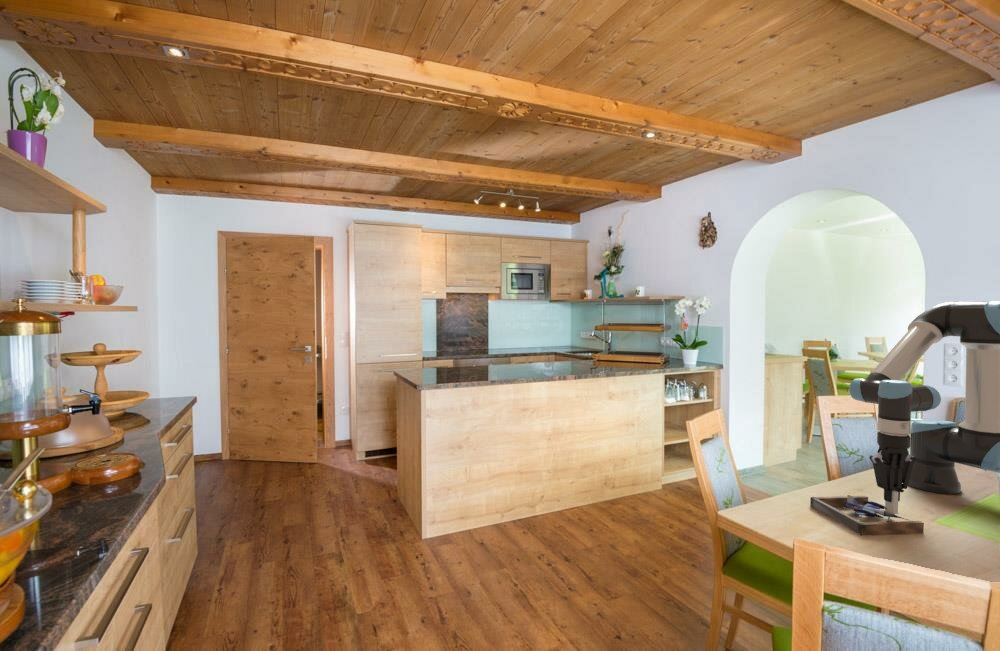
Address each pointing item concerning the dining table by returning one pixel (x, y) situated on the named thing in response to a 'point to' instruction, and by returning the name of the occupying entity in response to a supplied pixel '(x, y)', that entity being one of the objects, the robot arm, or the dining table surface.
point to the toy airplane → (869, 509)
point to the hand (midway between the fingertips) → (891, 511)
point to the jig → (872, 528)
